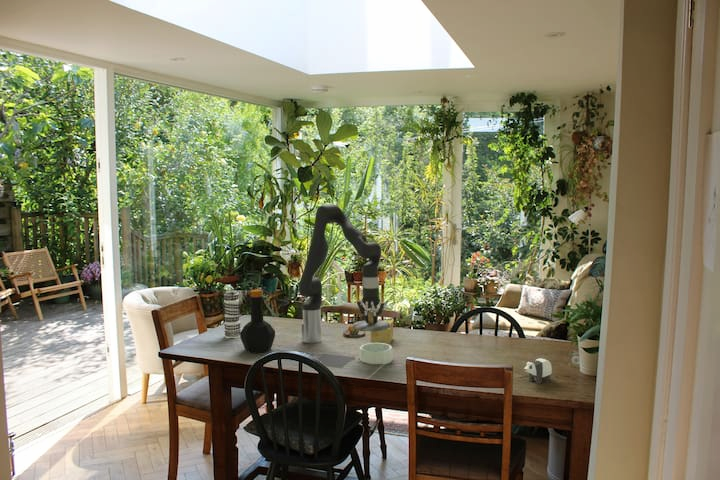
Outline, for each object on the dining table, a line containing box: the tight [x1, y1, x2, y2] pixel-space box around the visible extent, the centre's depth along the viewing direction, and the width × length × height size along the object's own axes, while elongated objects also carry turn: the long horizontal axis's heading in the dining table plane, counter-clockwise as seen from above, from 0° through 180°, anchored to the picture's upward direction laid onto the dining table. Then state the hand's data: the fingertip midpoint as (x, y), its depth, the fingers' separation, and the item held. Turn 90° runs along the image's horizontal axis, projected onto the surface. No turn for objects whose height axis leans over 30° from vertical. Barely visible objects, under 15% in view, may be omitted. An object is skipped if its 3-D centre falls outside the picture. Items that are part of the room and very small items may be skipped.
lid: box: [352, 310, 390, 332], centre depth 261 cm, size 17×17×7 cm
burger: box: [342, 323, 366, 339], centre depth 307 cm, size 12×12×8 cm
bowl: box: [359, 342, 393, 365], centre depth 264 cm, size 15×15×6 cm
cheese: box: [370, 319, 394, 345], centre depth 294 cm, size 10×11×10 cm
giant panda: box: [523, 357, 553, 385], centre depth 233 cm, size 15×6×10 cm, turn 125°
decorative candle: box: [222, 289, 242, 339], centre depth 306 cm, size 9×9×25 cm
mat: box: [316, 353, 356, 369], centre depth 262 cm, size 16×16×1 cm
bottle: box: [239, 289, 276, 354], centre depth 282 cm, size 16×16×30 cm
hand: (371, 323), depth 261 cm, fingers closed on lid, 3 cm apart
